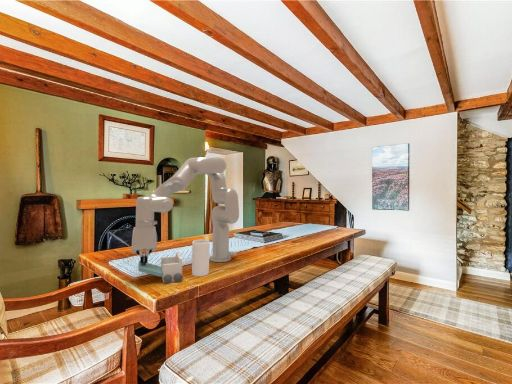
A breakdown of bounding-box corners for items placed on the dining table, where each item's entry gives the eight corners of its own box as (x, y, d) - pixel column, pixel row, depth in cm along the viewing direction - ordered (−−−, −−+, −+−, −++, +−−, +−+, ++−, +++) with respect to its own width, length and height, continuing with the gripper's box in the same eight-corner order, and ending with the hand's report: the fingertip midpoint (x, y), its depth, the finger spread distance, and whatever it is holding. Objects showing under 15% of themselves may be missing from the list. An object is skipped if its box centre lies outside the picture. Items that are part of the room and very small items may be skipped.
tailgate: (160, 266, 123) (139, 260, 119) (162, 273, 113) (139, 267, 109) (159, 269, 123) (138, 263, 119) (161, 276, 113) (138, 271, 109)
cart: (177, 271, 128) (177, 251, 128) (182, 281, 115) (182, 259, 115) (160, 273, 125) (161, 253, 125) (163, 284, 112) (163, 261, 112)
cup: (193, 270, 130) (193, 239, 130) (209, 270, 131) (210, 239, 130) (190, 276, 122) (191, 243, 121) (208, 276, 123) (208, 243, 122)
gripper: (161, 222, 121) (160, 260, 121) (126, 223, 115) (125, 263, 115) (163, 224, 114) (162, 265, 115) (125, 225, 108) (124, 268, 108)
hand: (143, 264), depth 115 cm, fingers closed
